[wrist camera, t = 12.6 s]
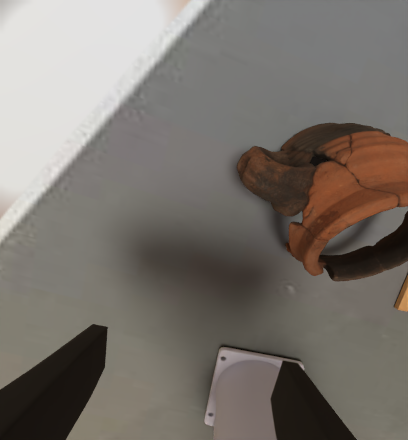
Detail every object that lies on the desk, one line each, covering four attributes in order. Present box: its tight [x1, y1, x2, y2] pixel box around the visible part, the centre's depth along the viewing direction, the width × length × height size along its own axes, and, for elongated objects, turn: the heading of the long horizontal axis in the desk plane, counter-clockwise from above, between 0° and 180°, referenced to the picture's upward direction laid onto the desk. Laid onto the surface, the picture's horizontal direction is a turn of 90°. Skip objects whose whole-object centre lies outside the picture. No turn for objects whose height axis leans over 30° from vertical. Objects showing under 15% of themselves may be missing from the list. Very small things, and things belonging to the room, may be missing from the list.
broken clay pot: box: [237, 123, 408, 281], centre depth 14 cm, size 12×10×8 cm
